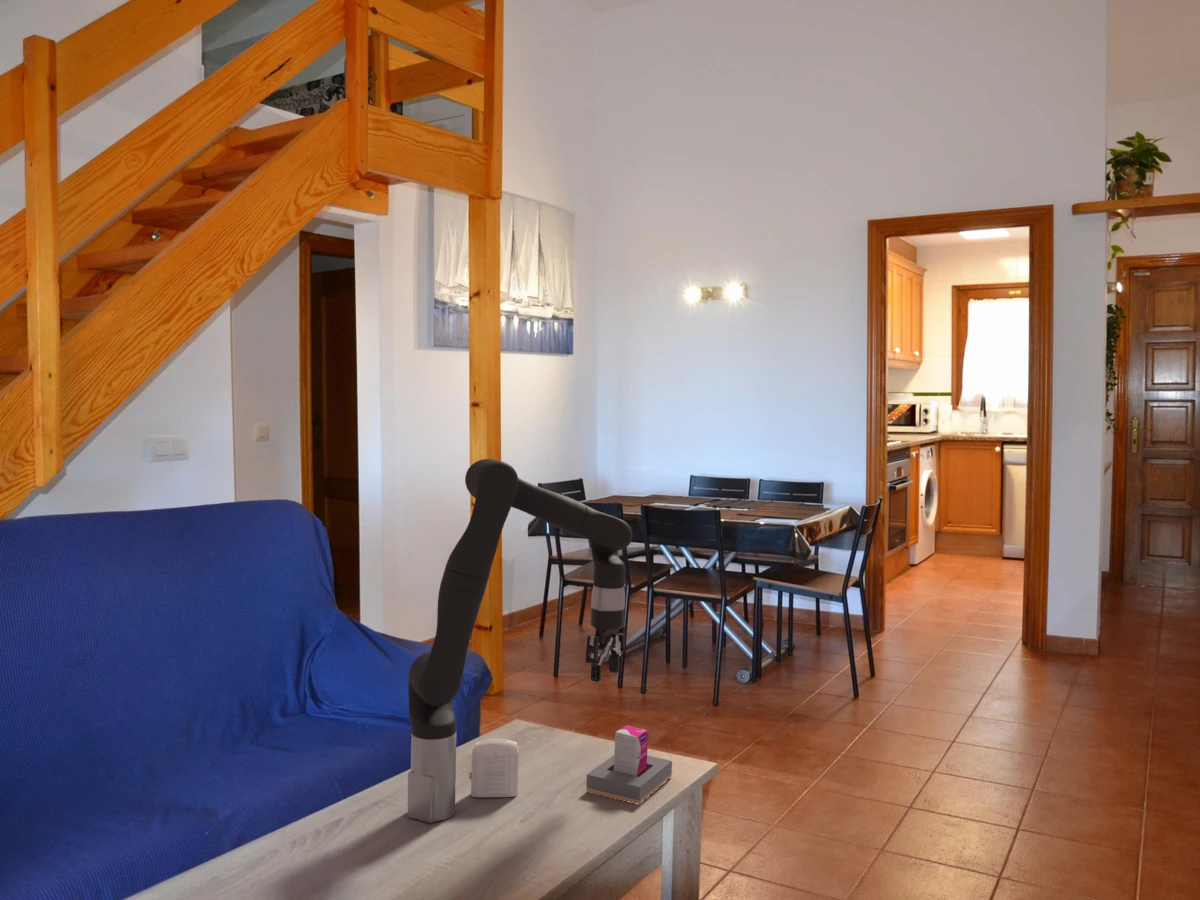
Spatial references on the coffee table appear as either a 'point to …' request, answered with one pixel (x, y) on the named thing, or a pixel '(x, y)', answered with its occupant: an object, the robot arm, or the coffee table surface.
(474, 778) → the photo printer
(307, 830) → the coffee table surface
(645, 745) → the supplement box
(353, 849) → the coffee table surface
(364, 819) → the coffee table surface
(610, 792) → the plate
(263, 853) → the coffee table surface
